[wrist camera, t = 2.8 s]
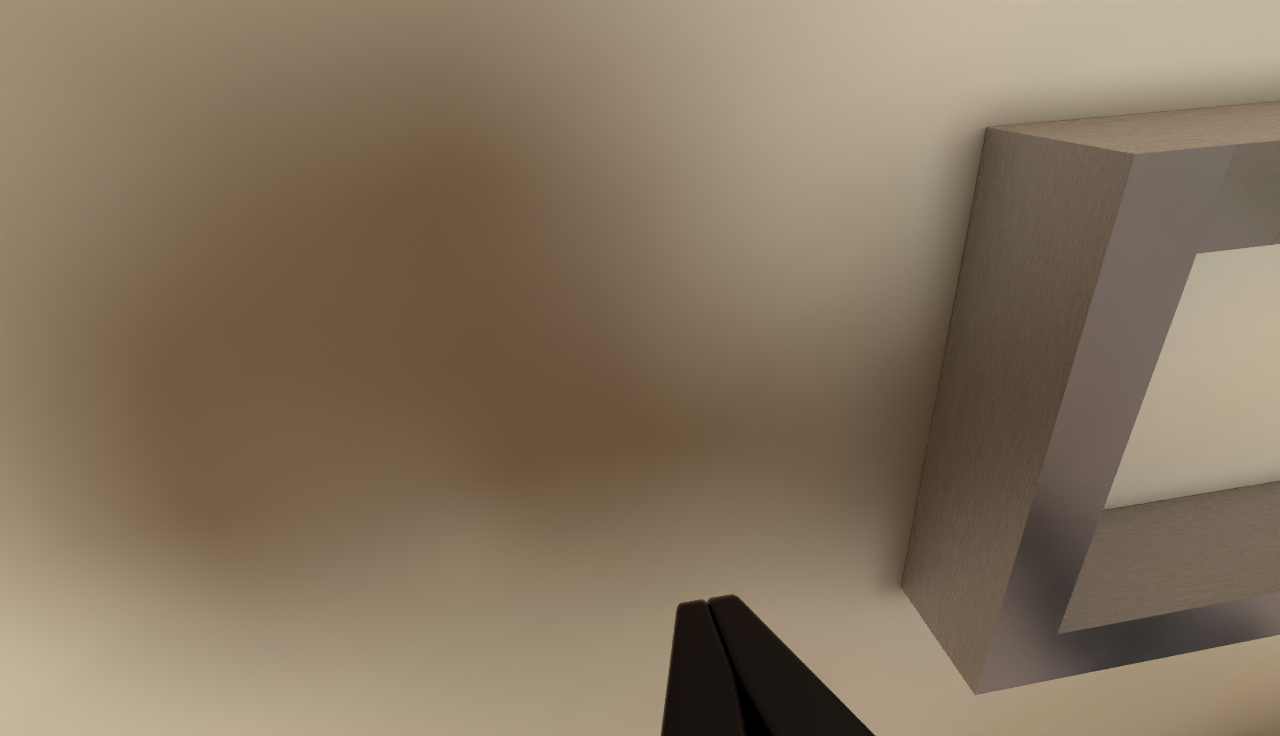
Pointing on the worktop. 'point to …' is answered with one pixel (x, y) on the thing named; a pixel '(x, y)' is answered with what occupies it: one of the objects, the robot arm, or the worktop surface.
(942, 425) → the u collar
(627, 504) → the worktop surface
